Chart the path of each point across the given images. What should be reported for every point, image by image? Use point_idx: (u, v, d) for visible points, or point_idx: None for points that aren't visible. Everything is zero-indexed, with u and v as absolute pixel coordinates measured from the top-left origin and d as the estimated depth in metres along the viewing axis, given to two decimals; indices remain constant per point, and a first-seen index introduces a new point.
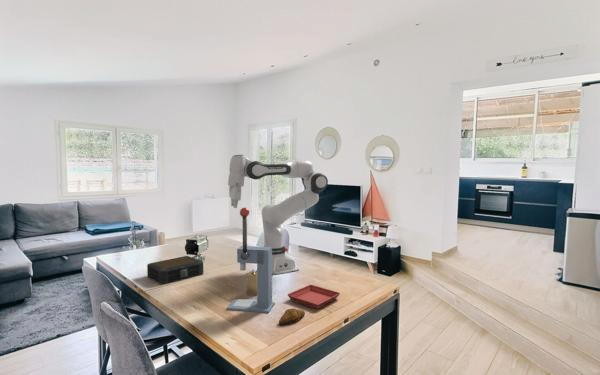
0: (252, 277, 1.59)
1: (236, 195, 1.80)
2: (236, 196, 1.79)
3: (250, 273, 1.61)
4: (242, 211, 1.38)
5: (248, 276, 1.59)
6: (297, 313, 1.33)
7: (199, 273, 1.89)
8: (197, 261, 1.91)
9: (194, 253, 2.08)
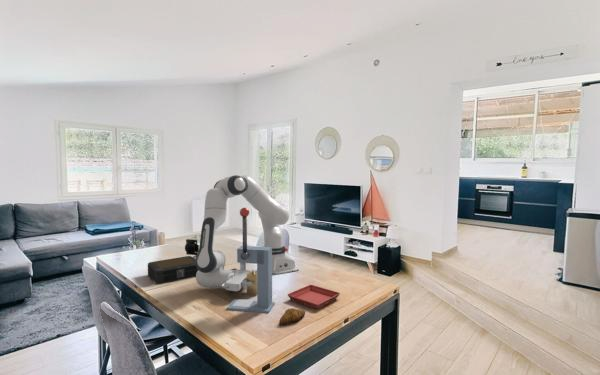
0: (252, 277, 1.59)
1: (233, 289, 1.53)
2: (234, 289, 1.53)
3: (250, 273, 1.61)
4: (242, 211, 1.38)
5: (248, 276, 1.59)
6: (297, 313, 1.33)
7: None
8: None
9: (194, 253, 2.08)
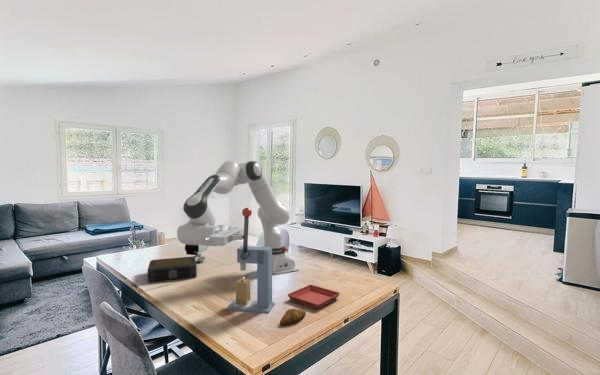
0: (242, 285, 1.45)
1: (217, 243, 1.32)
2: (218, 243, 1.32)
3: (240, 281, 1.47)
4: (244, 211, 1.38)
5: (237, 284, 1.46)
6: (298, 313, 1.32)
7: (190, 276, 1.83)
8: (191, 263, 1.86)
9: (194, 253, 2.08)
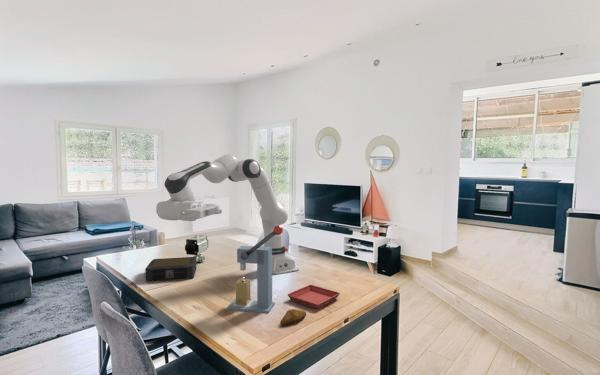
0: (242, 285, 1.45)
1: (193, 216, 1.37)
2: (194, 216, 1.37)
3: (240, 281, 1.47)
4: (277, 229, 1.36)
5: (237, 284, 1.46)
6: (298, 314, 1.32)
7: (187, 277, 1.82)
8: (188, 264, 1.85)
9: (194, 253, 2.08)
